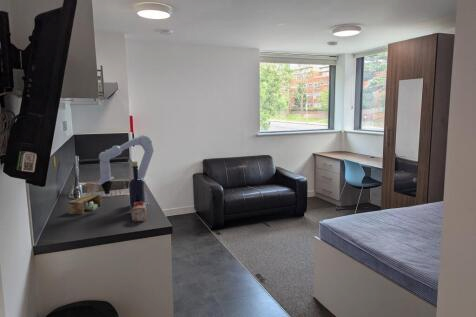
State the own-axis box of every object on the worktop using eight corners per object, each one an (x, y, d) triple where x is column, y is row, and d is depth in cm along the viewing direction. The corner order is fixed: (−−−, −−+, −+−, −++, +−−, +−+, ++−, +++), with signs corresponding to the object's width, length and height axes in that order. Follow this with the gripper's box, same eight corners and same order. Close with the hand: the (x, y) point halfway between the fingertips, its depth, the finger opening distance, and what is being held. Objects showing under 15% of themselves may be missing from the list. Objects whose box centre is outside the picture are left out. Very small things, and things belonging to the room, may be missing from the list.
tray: (98, 208, 210) (97, 201, 209) (93, 210, 205) (92, 203, 204) (84, 207, 211) (84, 200, 211) (79, 210, 206) (79, 202, 206)
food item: (147, 222, 182) (146, 204, 181) (131, 223, 180) (130, 205, 179) (147, 214, 195) (146, 198, 194) (132, 216, 193) (131, 199, 192)
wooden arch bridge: (101, 204, 217) (101, 194, 216) (83, 214, 198) (82, 202, 197) (89, 204, 219) (88, 194, 218) (69, 213, 200) (68, 202, 199)
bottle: (147, 209, 205) (144, 160, 200) (144, 214, 195) (140, 162, 191) (132, 210, 204) (129, 160, 200) (127, 214, 195) (124, 163, 191)
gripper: (106, 169, 213) (107, 190, 215) (92, 174, 198) (94, 196, 200) (116, 169, 211) (118, 191, 213) (103, 174, 197) (105, 197, 199)
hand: (107, 193), depth 207 cm, fingers closed
